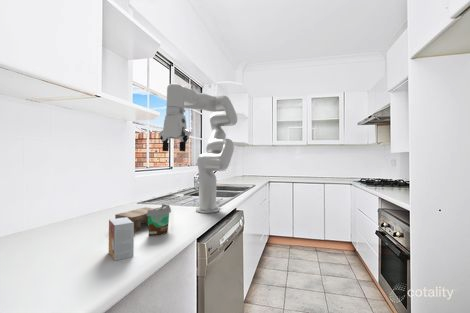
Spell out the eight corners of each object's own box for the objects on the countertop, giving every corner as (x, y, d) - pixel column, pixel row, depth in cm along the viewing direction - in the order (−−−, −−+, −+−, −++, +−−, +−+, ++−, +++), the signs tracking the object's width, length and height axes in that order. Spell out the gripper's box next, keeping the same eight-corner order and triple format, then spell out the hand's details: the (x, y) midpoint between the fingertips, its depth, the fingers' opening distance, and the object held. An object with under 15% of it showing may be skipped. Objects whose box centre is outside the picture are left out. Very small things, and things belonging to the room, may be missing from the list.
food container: (161, 238, 91) (161, 211, 91) (146, 237, 92) (146, 210, 92) (176, 228, 103) (176, 204, 103) (162, 227, 104) (162, 203, 104)
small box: (108, 252, 78) (108, 219, 77) (127, 248, 81) (127, 216, 81) (113, 261, 71) (113, 225, 71) (133, 256, 75) (134, 222, 74)
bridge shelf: (145, 219, 115) (145, 207, 115) (161, 222, 111) (161, 209, 111) (115, 229, 101) (115, 214, 101) (132, 232, 97) (132, 217, 97)
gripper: (196, 112, 108) (194, 151, 107) (166, 115, 116) (165, 151, 115) (185, 109, 101) (183, 150, 101) (154, 112, 109) (152, 150, 109)
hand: (173, 151), depth 108 cm, fingers open, 9 cm apart
